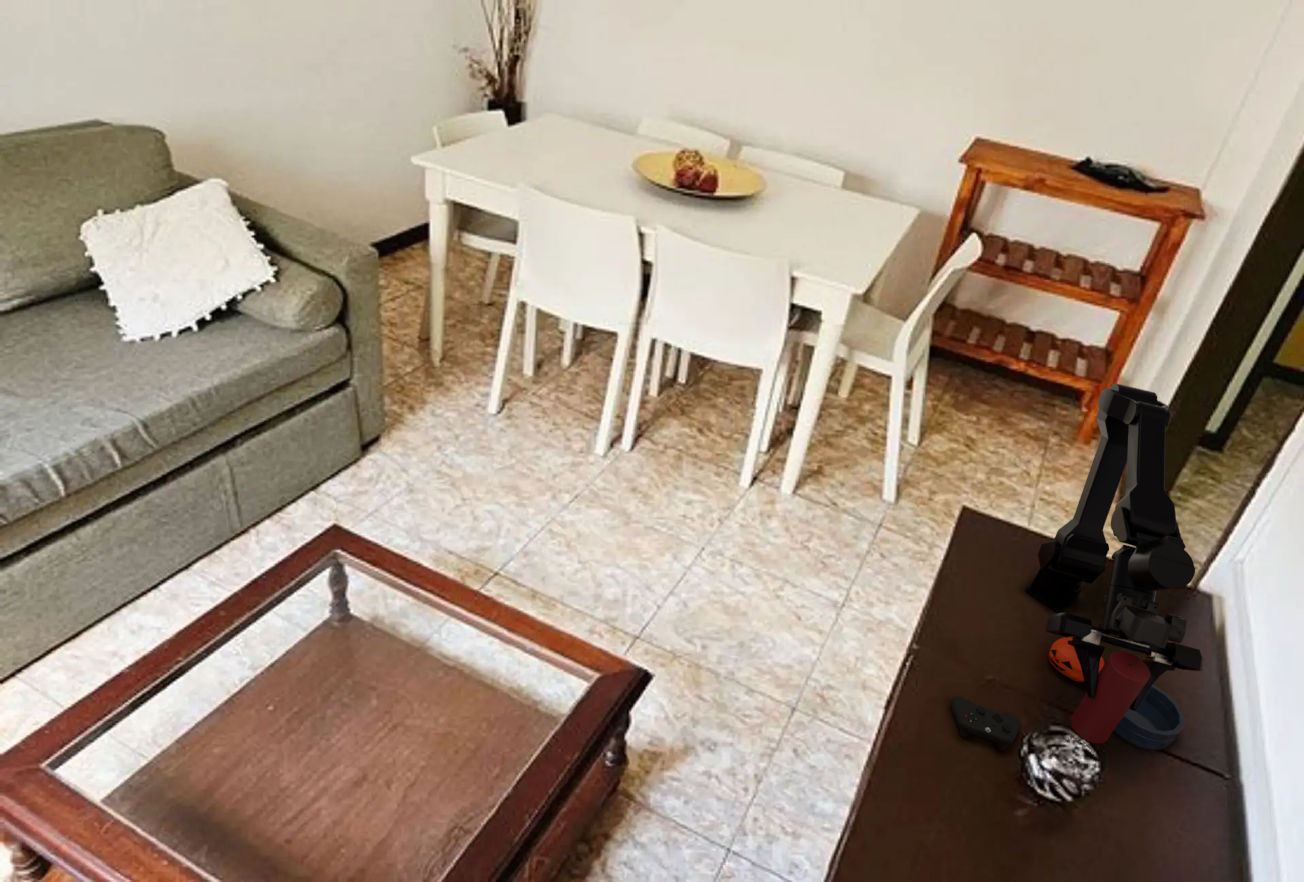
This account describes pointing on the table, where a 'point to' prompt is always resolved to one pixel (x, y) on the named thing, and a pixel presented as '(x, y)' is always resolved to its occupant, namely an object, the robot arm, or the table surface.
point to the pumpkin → (1067, 659)
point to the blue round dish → (1152, 721)
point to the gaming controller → (984, 722)
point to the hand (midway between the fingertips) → (1111, 704)
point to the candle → (1110, 697)
